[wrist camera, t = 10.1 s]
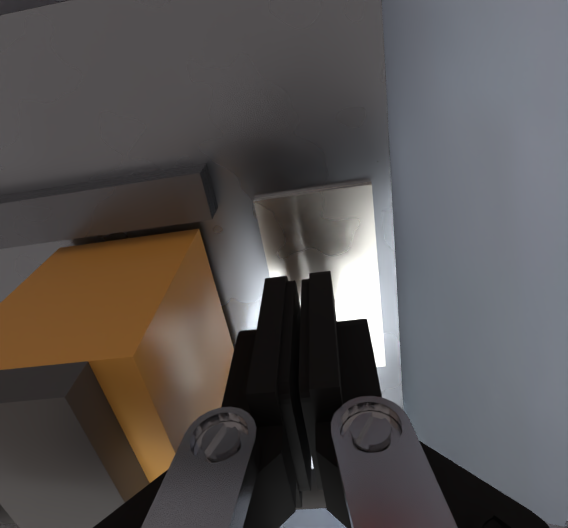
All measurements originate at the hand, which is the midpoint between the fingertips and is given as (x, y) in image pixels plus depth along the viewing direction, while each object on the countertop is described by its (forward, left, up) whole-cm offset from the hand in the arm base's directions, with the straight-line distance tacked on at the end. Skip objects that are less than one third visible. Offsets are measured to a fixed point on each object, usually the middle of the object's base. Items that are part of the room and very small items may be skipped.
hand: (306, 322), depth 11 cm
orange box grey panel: (+4, +2, -1) cm, 5 cm away
